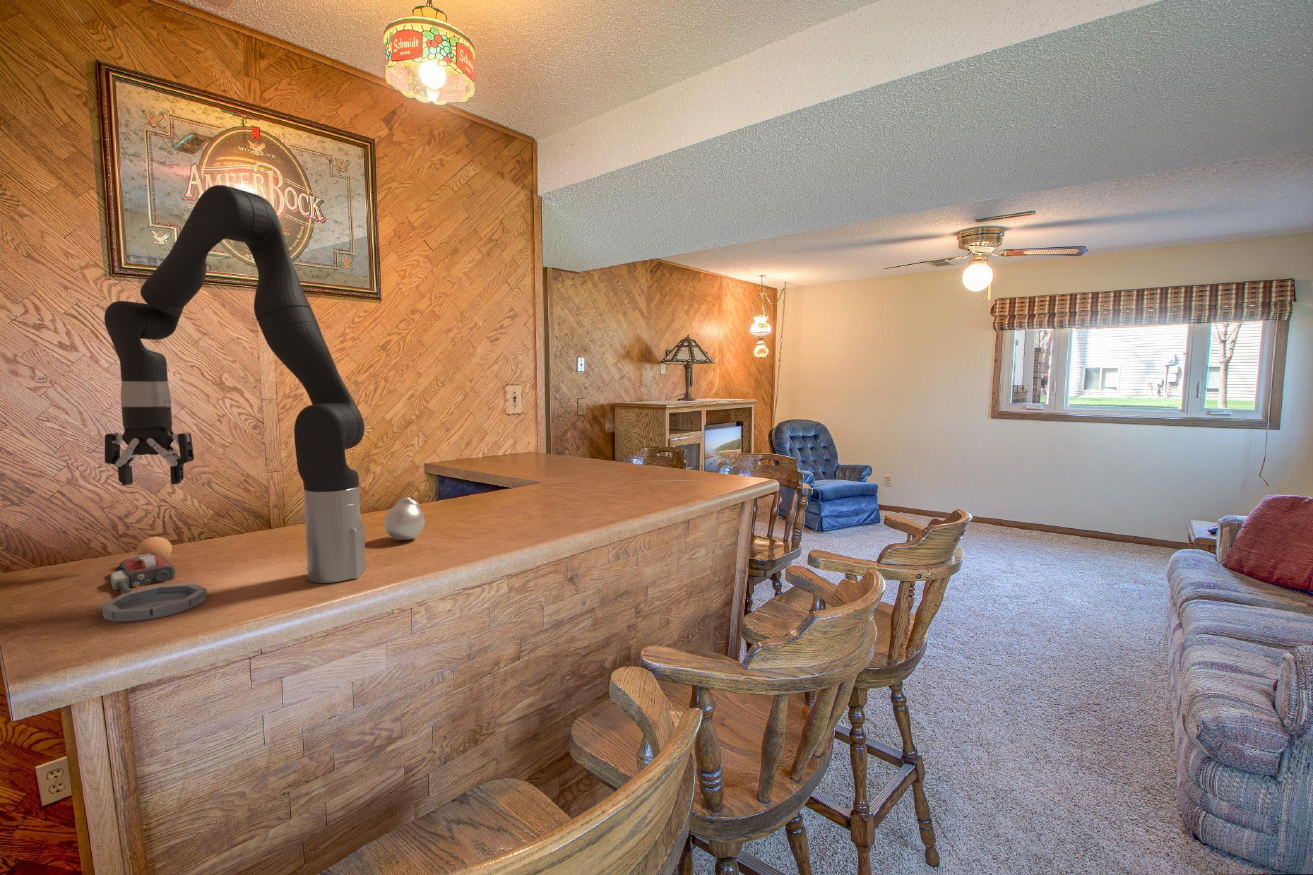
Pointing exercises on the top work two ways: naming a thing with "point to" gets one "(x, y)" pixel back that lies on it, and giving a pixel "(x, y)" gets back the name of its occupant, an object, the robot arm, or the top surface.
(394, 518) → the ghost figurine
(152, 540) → the ball
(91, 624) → the top surface
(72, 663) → the top surface
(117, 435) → the robot arm
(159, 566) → the walkie-talkie
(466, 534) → the top surface
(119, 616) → the dish
